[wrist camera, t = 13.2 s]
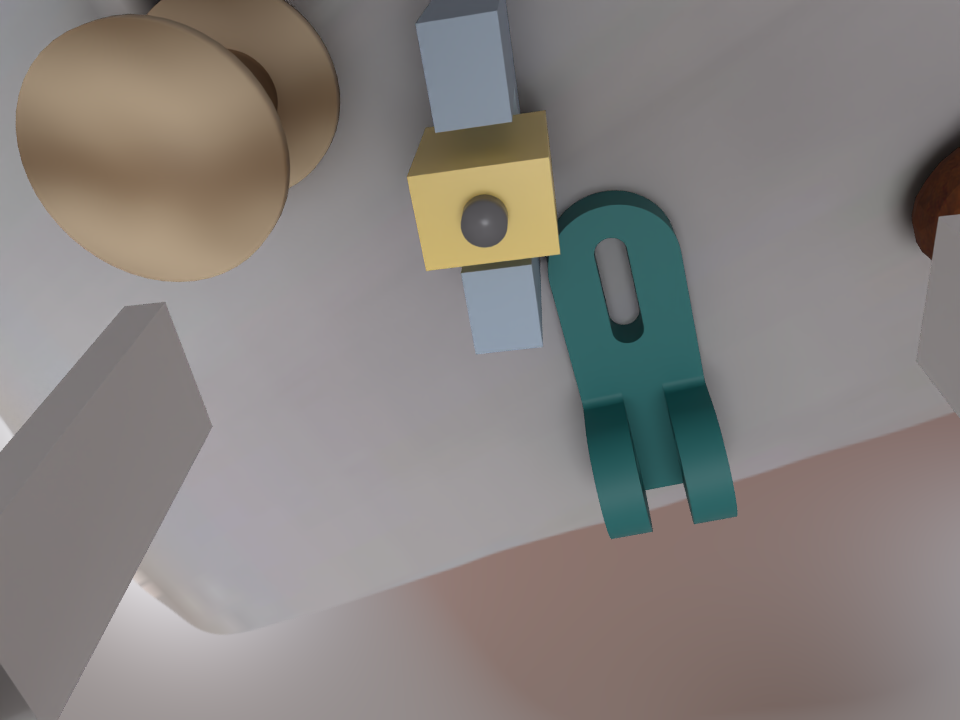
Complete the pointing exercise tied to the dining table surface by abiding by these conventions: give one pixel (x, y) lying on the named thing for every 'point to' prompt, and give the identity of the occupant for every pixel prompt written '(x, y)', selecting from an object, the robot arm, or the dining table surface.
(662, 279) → the bracket
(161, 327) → the robot arm
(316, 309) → the dining table surface
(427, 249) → the yellow block
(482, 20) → the notch board
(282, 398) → the dining table surface
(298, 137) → the bobbin
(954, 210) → the potato
